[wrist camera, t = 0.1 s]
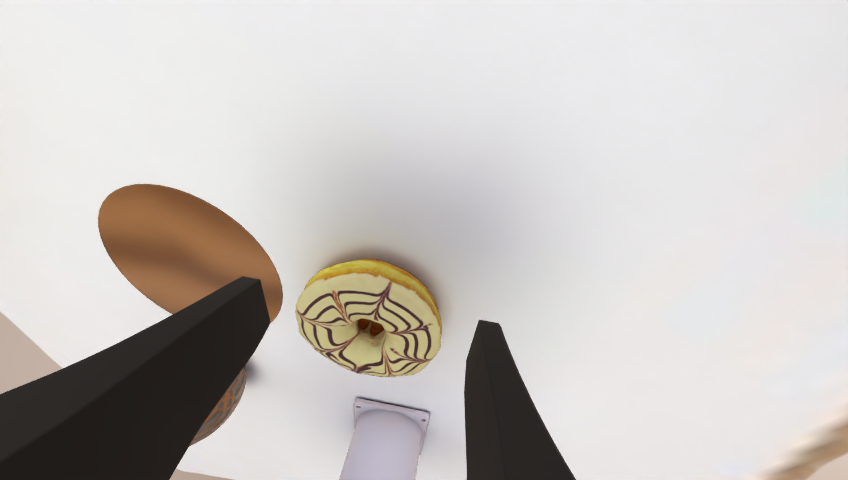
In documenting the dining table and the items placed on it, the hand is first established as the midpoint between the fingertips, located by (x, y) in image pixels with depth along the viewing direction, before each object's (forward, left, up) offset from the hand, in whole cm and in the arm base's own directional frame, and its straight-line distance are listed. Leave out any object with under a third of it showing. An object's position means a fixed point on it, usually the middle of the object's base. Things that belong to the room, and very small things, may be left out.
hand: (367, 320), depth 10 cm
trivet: (-10, +18, -10) cm, 23 cm away
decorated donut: (-10, +2, -10) cm, 14 cm away
